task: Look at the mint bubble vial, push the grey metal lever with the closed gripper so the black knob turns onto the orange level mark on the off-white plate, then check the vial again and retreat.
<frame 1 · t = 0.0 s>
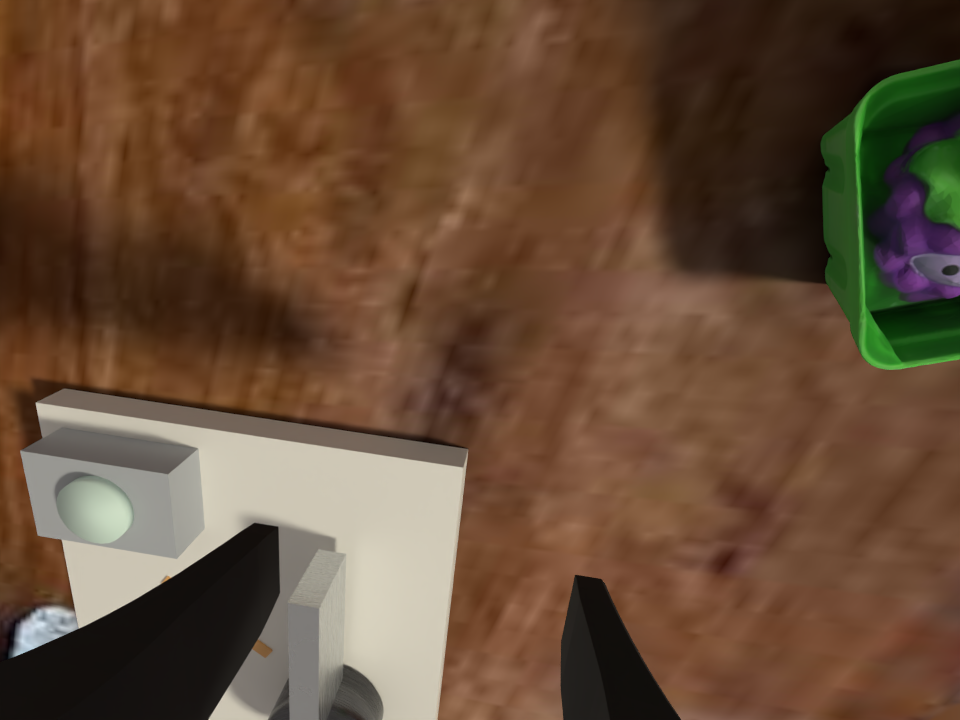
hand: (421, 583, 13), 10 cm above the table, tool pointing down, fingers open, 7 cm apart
leveling plate: (267, 583, 27), on the table
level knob: (320, 682, 24), point 3 cm above the table, hinge at 0.0°
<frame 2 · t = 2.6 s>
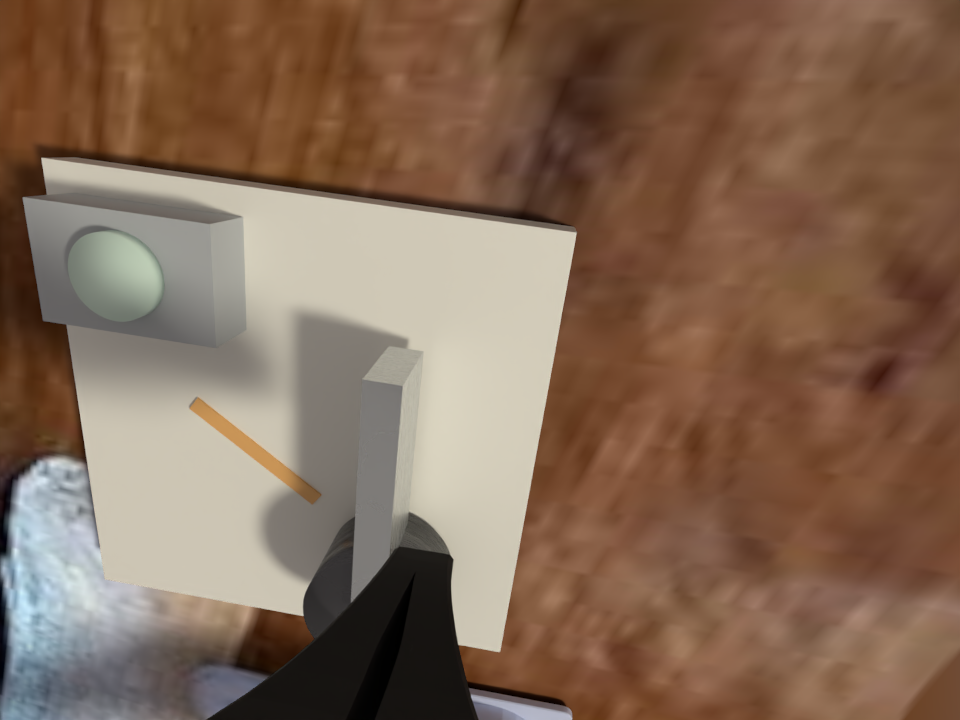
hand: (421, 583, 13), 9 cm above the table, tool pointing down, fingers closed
leveling plate: (314, 418, 23), on the table
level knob: (385, 517, 20), point 3 cm above the table, hinge at 0.0°
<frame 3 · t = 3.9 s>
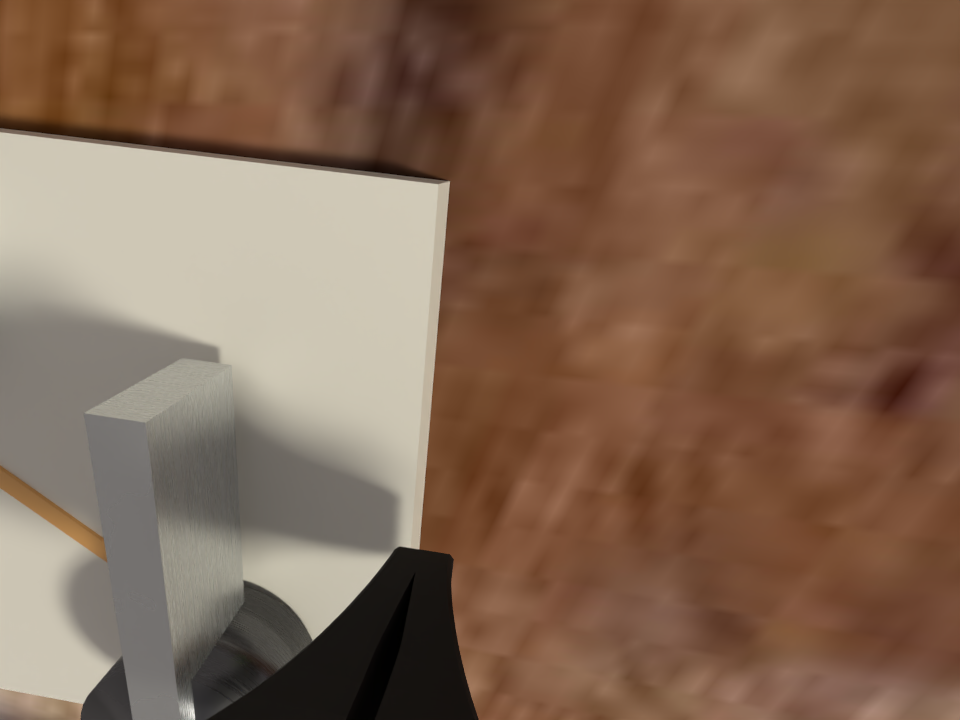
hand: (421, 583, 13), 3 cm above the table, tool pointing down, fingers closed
leveling plate: (131, 456, 17), on the table
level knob: (194, 601, 14), point 3 cm above the table, hinge at 0.0°
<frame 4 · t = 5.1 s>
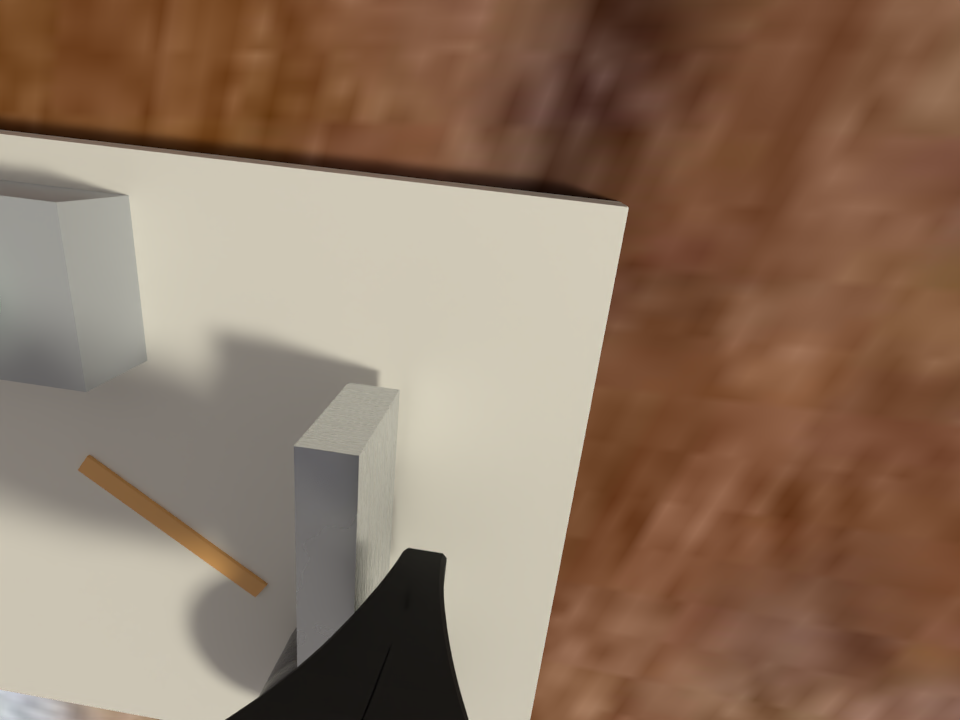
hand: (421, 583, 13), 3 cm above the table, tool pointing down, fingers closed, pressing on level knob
leveling plate: (258, 477, 17), on the table
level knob: (350, 629, 14), point 3 cm above the table, hinge at 0.0°, touching gripper
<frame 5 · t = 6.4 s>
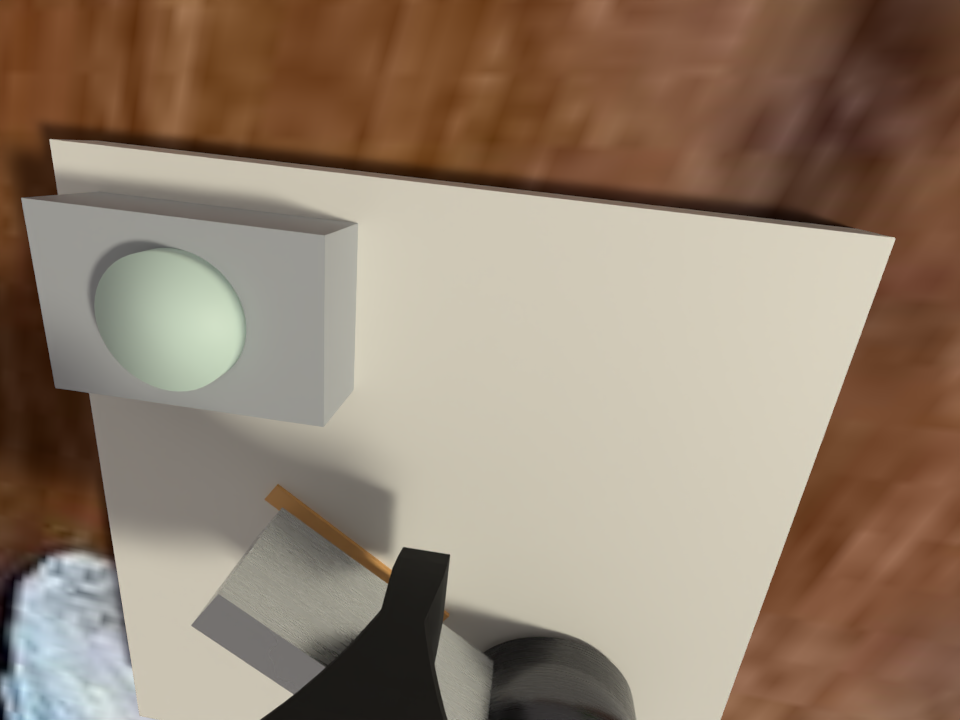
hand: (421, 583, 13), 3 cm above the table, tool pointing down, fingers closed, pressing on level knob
leveling plate: (433, 503, 16), on the table
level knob: (441, 691, 14), point 3 cm above the table, hinge at 56.2°, touching gripper
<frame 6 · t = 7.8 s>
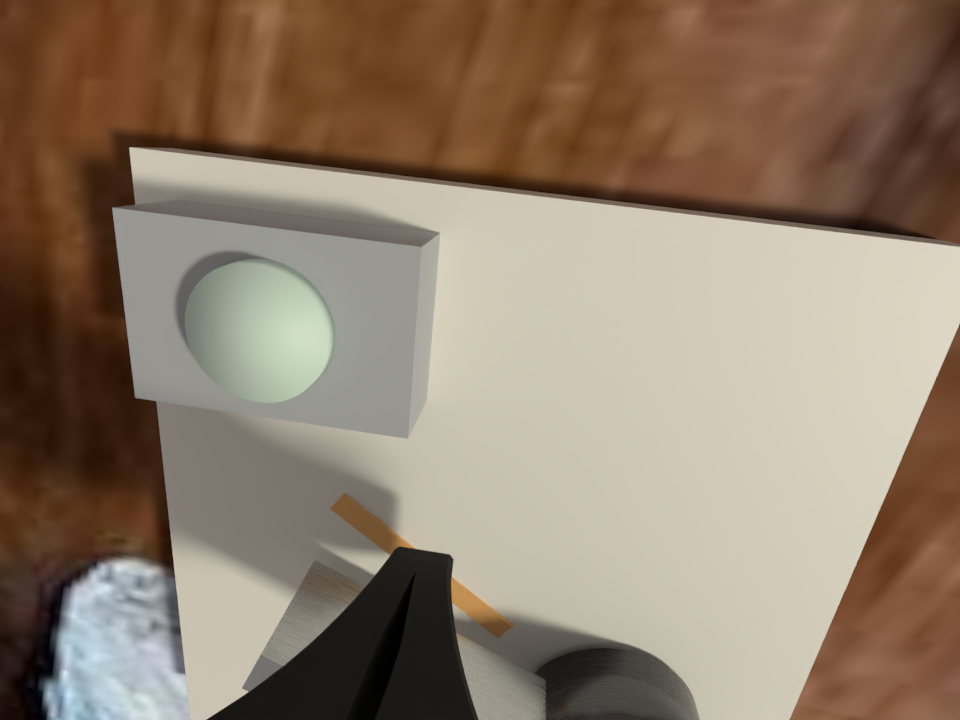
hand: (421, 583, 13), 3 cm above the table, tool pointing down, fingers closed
leveling plate: (494, 513, 16), on the table
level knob: (496, 717, 14), point 3 cm above the table, hinge at 67.0°
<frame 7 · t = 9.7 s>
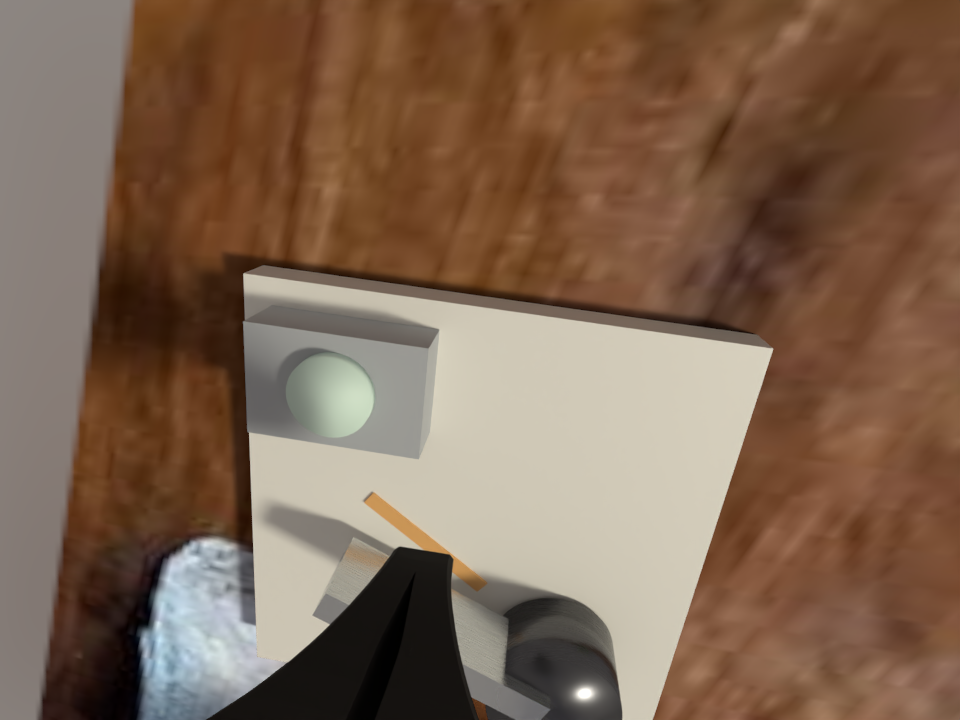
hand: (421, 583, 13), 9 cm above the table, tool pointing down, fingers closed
leveling plate: (475, 506, 23), on the table
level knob: (474, 641, 21), point 3 cm above the table, hinge at 67.0°
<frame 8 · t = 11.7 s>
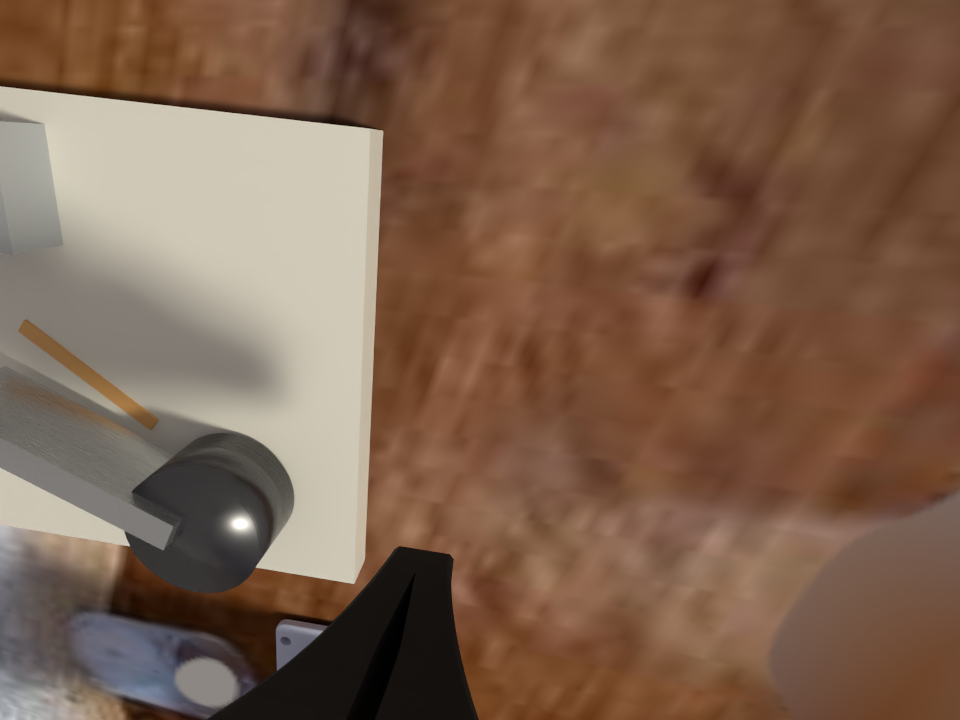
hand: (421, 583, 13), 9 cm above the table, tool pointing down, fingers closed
leveling plate: (155, 345, 23), on the table
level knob: (123, 470, 21), point 3 cm above the table, hinge at 67.0°
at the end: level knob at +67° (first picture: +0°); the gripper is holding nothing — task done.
